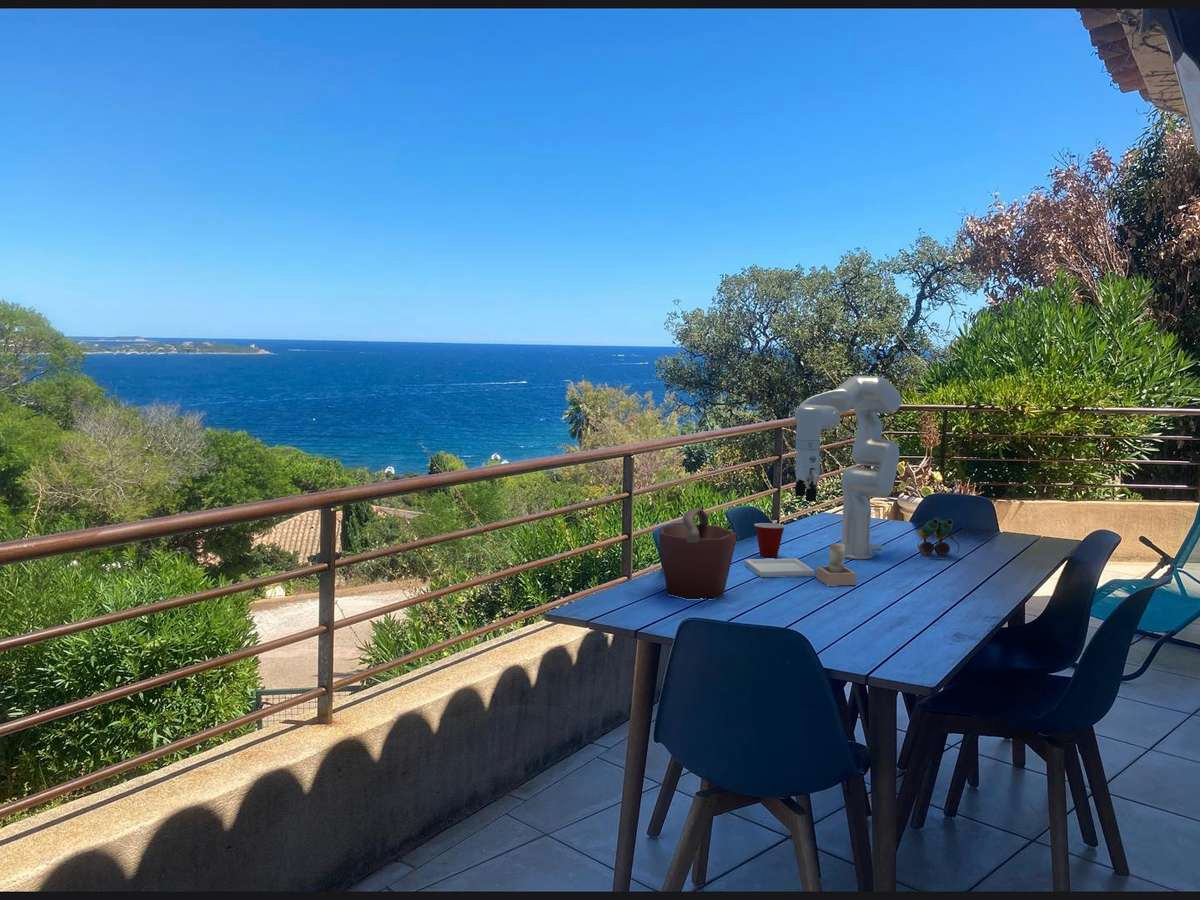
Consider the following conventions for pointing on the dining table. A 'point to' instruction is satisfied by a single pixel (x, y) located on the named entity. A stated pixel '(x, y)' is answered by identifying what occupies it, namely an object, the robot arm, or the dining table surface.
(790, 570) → the plastic tray
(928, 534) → the binoculars
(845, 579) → the terracotta holder
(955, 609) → the dining table surface
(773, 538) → the plastic cup
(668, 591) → the bucket
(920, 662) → the dining table surface
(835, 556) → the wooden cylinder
